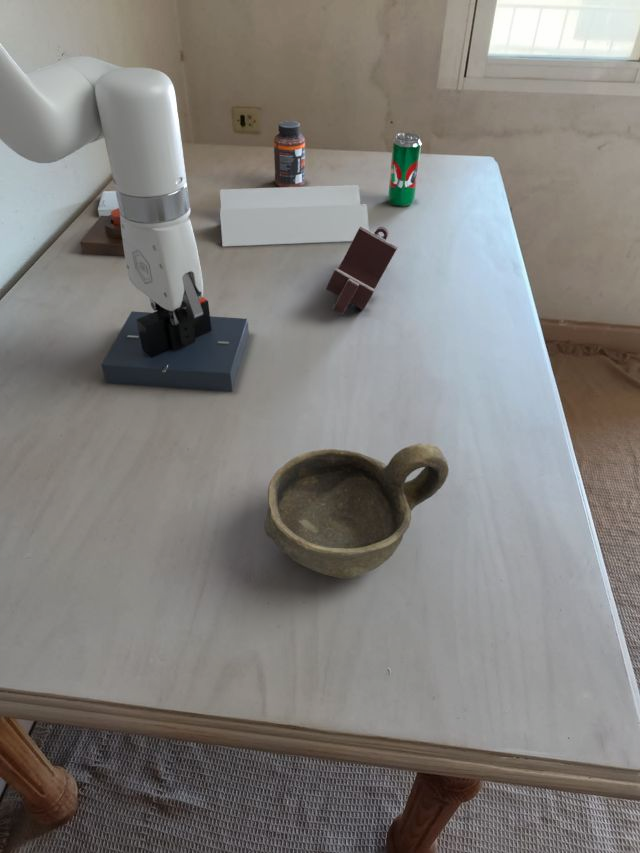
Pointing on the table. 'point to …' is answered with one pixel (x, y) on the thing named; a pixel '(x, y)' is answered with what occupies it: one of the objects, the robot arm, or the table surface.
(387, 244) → the bracket
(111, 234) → the button base
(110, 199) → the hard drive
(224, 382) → the lever switch
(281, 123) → the supplement bottle
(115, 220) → the button
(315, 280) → the table surface
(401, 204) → the soda can
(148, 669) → the table surface
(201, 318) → the black rectangular block
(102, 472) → the table surface
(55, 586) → the table surface
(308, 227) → the z bracket
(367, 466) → the bowl
